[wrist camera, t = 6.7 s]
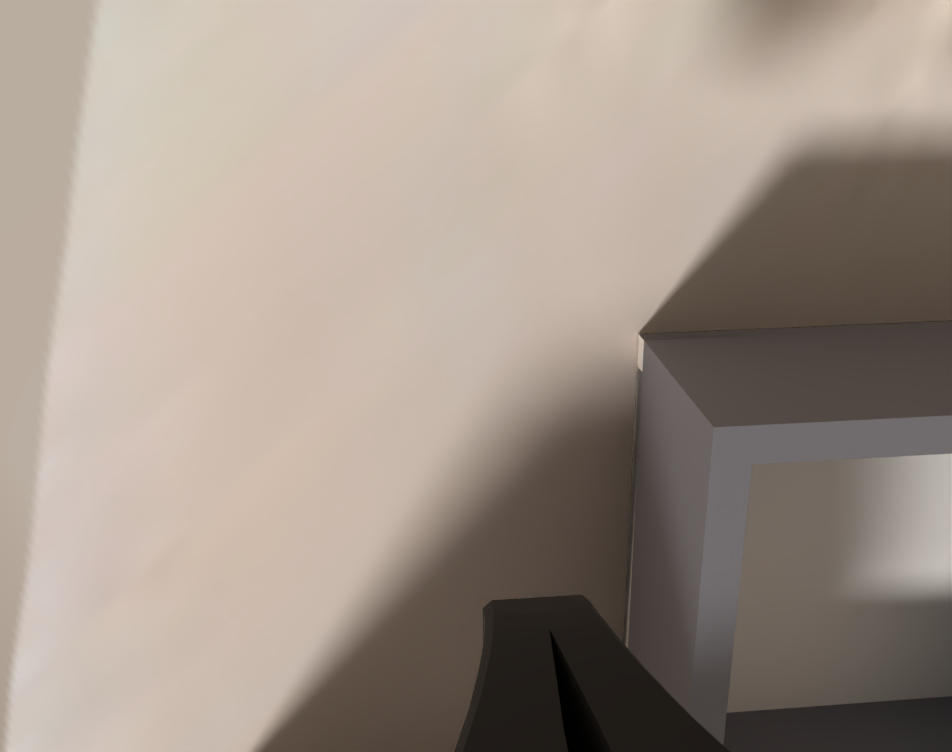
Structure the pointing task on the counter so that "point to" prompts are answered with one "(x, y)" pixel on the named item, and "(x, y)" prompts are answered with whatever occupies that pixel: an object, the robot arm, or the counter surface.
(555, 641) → the robot arm
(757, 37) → the counter surface
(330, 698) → the counter surface
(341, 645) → the counter surface
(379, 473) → the counter surface
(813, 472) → the grey box
